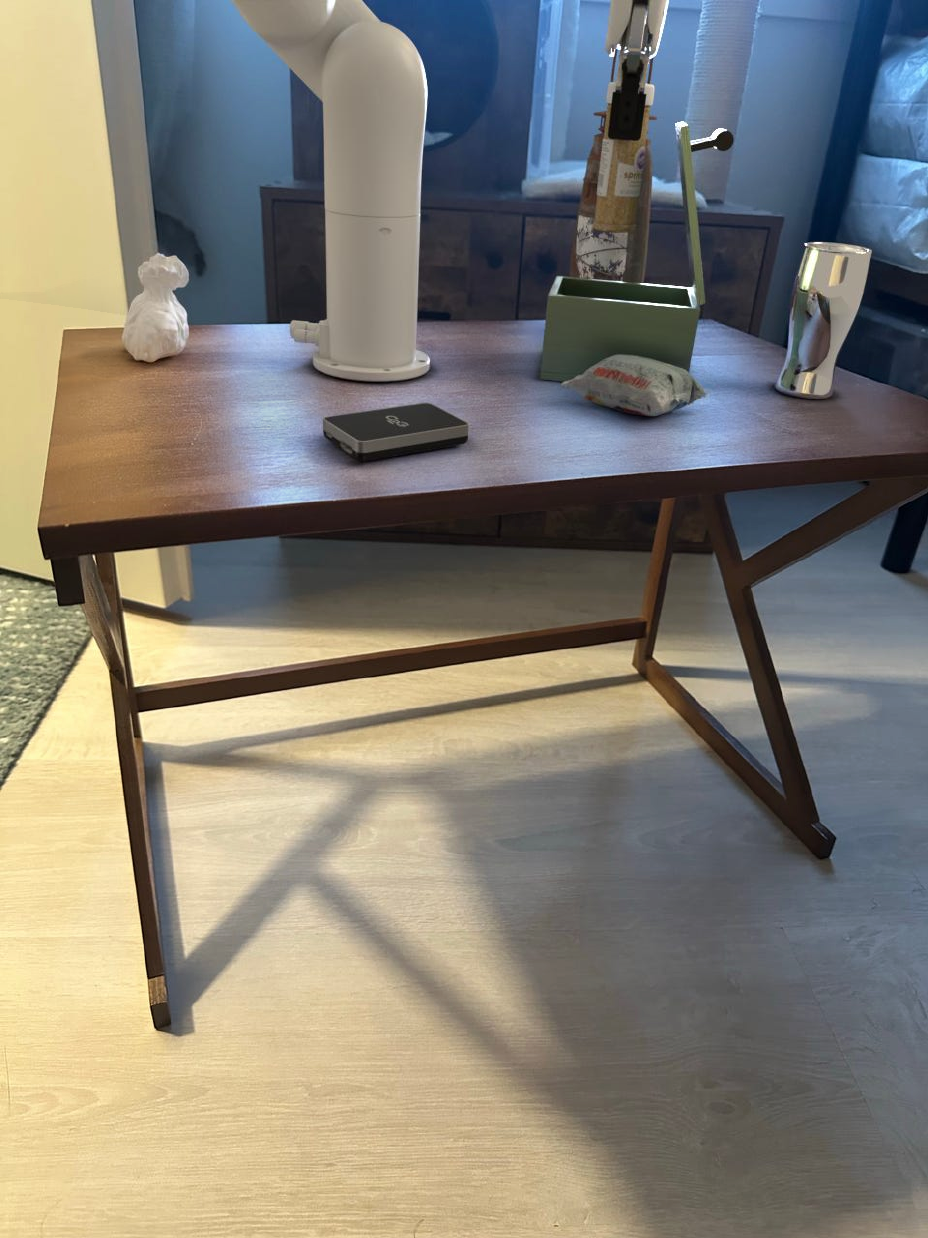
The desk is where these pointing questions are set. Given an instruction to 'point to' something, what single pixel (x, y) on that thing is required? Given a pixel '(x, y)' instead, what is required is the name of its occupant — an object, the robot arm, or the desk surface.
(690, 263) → the bin lid
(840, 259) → the beer glass
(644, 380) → the packaged food
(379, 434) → the external hard drive
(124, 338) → the white tied sack
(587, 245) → the lantern
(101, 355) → the desk surface
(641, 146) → the sprinkles bottle
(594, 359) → the waste bin
